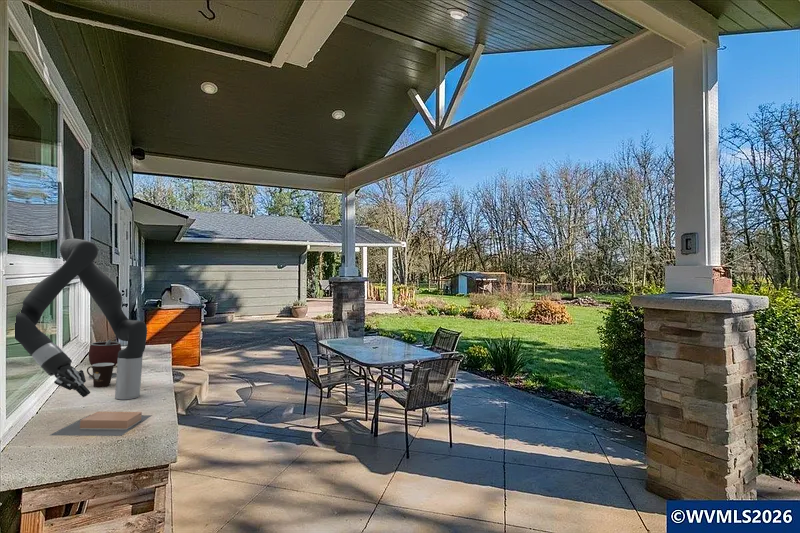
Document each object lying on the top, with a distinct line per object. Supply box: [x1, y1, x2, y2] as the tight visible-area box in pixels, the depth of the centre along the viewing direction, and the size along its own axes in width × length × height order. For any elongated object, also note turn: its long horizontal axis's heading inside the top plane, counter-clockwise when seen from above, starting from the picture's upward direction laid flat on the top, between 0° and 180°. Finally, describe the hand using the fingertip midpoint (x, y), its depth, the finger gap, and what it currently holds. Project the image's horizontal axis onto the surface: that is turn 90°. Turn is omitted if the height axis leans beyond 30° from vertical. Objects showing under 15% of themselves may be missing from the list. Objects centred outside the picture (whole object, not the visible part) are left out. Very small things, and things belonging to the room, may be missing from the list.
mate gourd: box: [88, 339, 122, 380], centre depth 223 cm, size 16×14×20 cm
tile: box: [79, 410, 143, 430], centre depth 152 cm, size 10×3×15 cm
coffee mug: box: [86, 363, 115, 388], centre depth 206 cm, size 12×9×10 cm
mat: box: [49, 414, 153, 437], centre depth 152 cm, size 22×22×1 cm
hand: (87, 394), depth 151 cm, fingers closed
